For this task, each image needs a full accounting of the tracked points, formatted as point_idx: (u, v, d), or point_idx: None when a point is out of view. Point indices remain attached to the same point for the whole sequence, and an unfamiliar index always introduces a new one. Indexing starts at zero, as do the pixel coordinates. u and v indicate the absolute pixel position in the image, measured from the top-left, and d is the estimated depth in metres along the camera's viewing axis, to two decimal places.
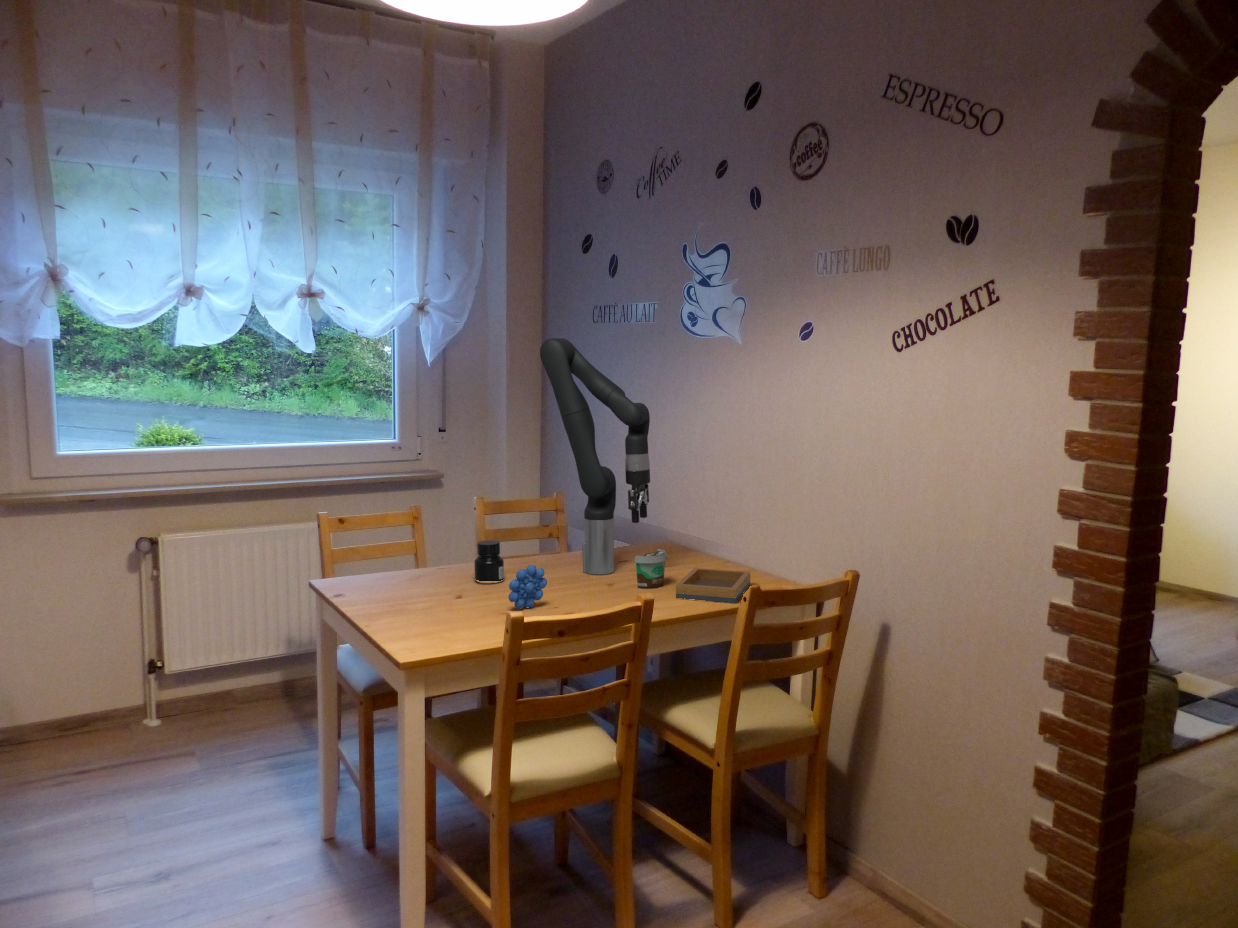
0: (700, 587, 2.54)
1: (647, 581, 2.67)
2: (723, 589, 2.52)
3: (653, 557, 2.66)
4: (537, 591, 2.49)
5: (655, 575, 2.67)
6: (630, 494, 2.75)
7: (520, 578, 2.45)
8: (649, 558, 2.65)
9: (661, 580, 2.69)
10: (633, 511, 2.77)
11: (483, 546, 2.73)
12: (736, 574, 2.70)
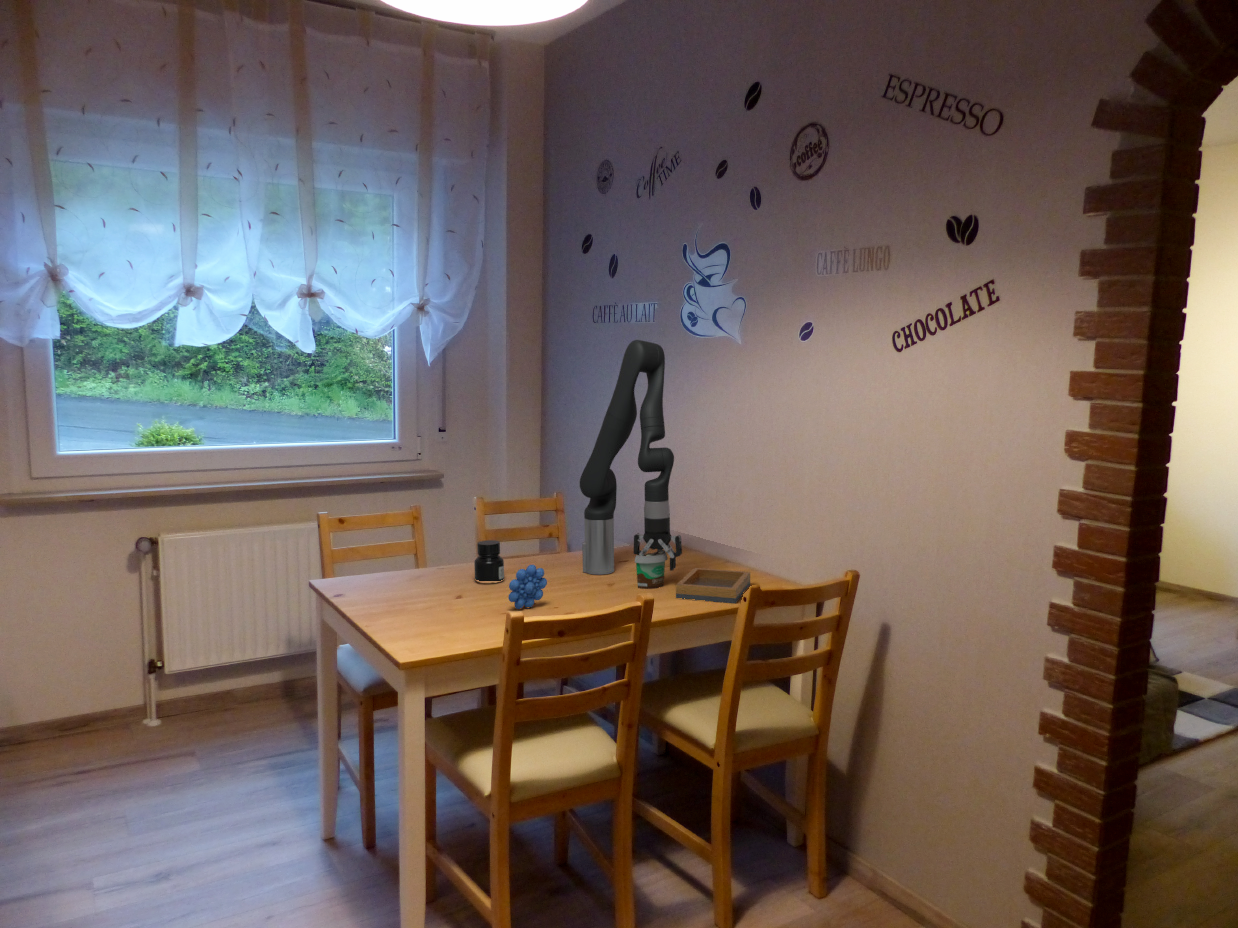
0: (700, 587, 2.54)
1: (647, 581, 2.67)
2: (723, 589, 2.52)
3: (653, 557, 2.66)
4: (537, 591, 2.49)
5: (655, 575, 2.67)
6: (679, 540, 2.67)
7: (520, 578, 2.45)
8: (649, 558, 2.65)
9: (661, 580, 2.69)
10: (675, 558, 2.68)
11: (483, 546, 2.73)
12: (736, 574, 2.70)
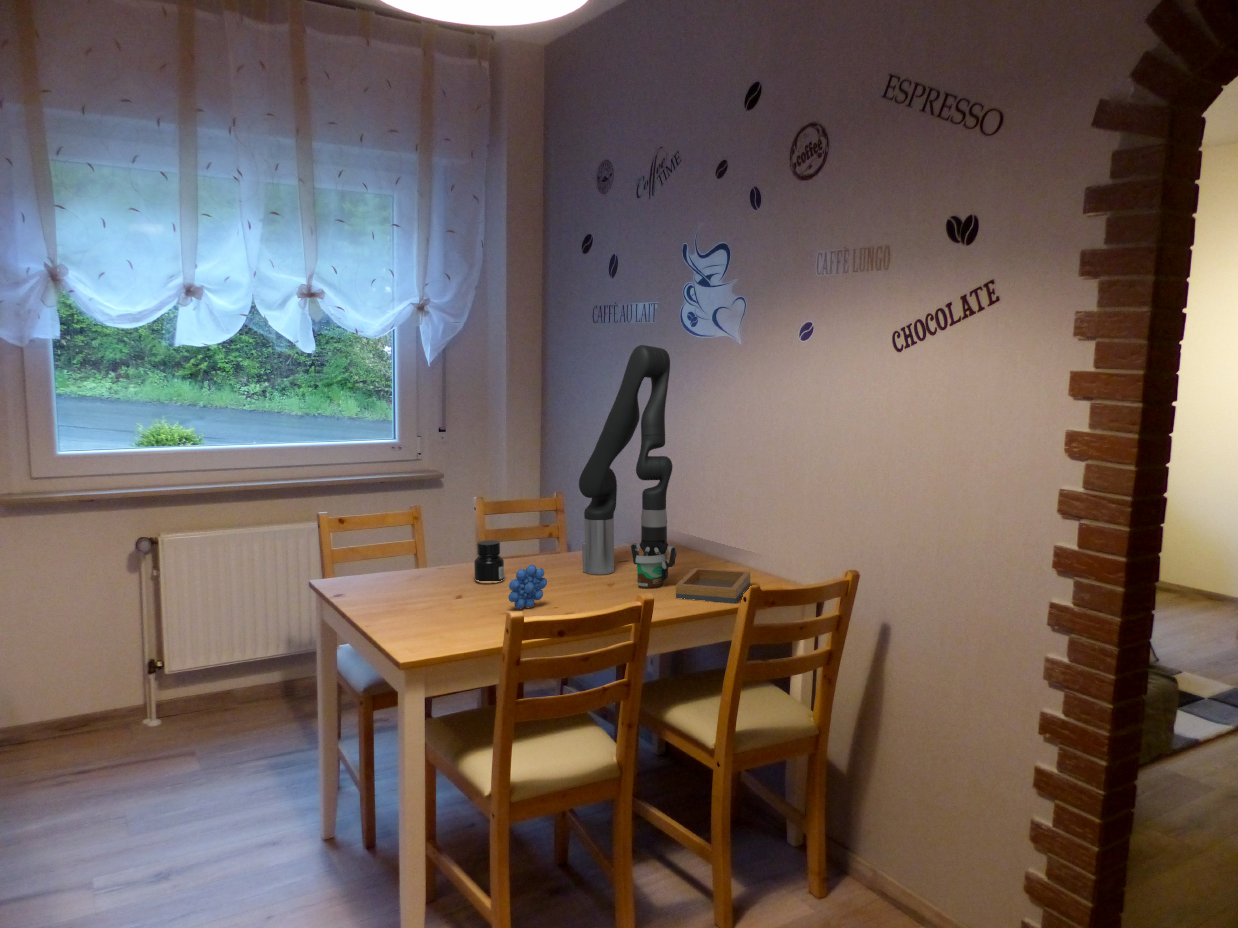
0: (700, 587, 2.54)
1: (648, 581, 2.67)
2: (723, 589, 2.52)
3: (654, 557, 2.65)
4: (537, 591, 2.49)
5: (656, 575, 2.67)
6: (675, 552, 2.67)
7: (520, 578, 2.45)
8: (650, 558, 2.65)
9: None
10: (666, 569, 2.68)
11: (483, 546, 2.73)
12: (736, 574, 2.70)
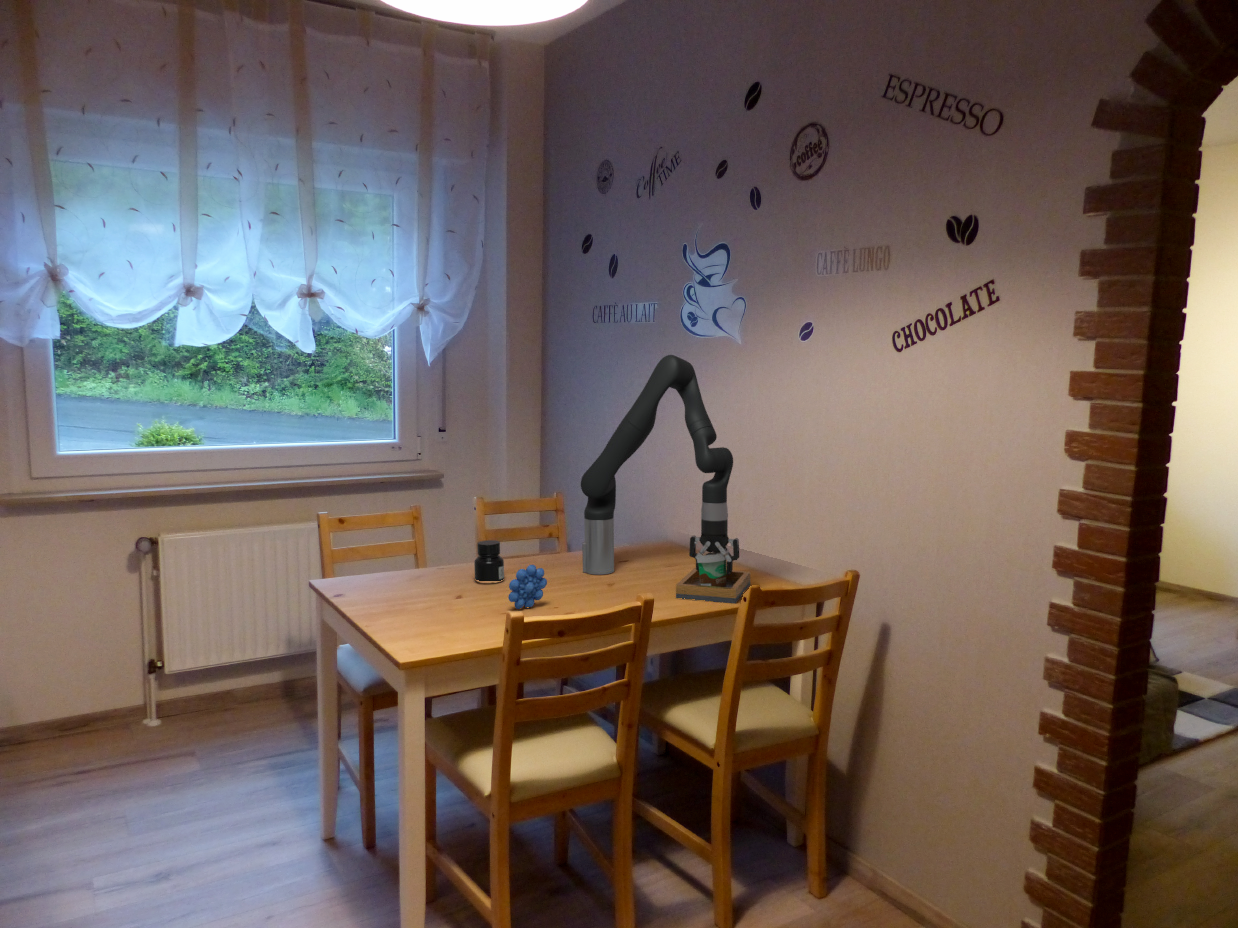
0: (700, 587, 2.54)
1: (711, 581, 2.59)
2: (723, 589, 2.52)
3: (716, 556, 2.58)
4: (537, 591, 2.49)
5: (719, 575, 2.60)
6: (737, 543, 2.59)
7: (520, 578, 2.45)
8: (712, 557, 2.58)
9: (724, 579, 2.62)
10: (732, 561, 2.60)
11: (483, 546, 2.73)
12: (736, 574, 2.70)
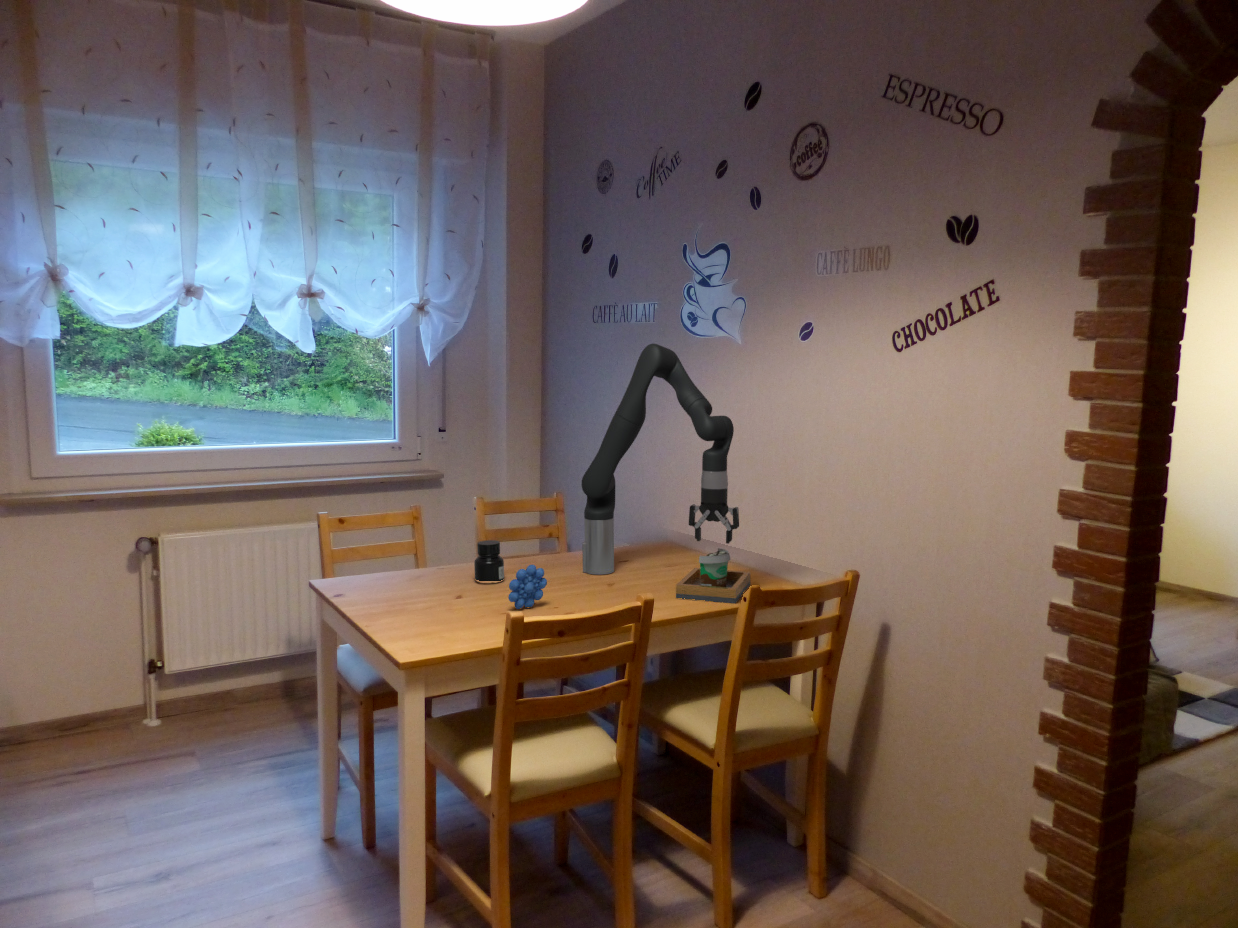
0: (700, 587, 2.54)
1: (712, 582, 2.59)
2: (723, 589, 2.52)
3: (718, 557, 2.58)
4: (537, 591, 2.49)
5: (720, 576, 2.60)
6: (737, 512, 2.58)
7: (520, 578, 2.45)
8: (714, 558, 2.58)
9: (725, 580, 2.62)
10: (731, 530, 2.59)
11: (483, 546, 2.73)
12: (736, 574, 2.70)
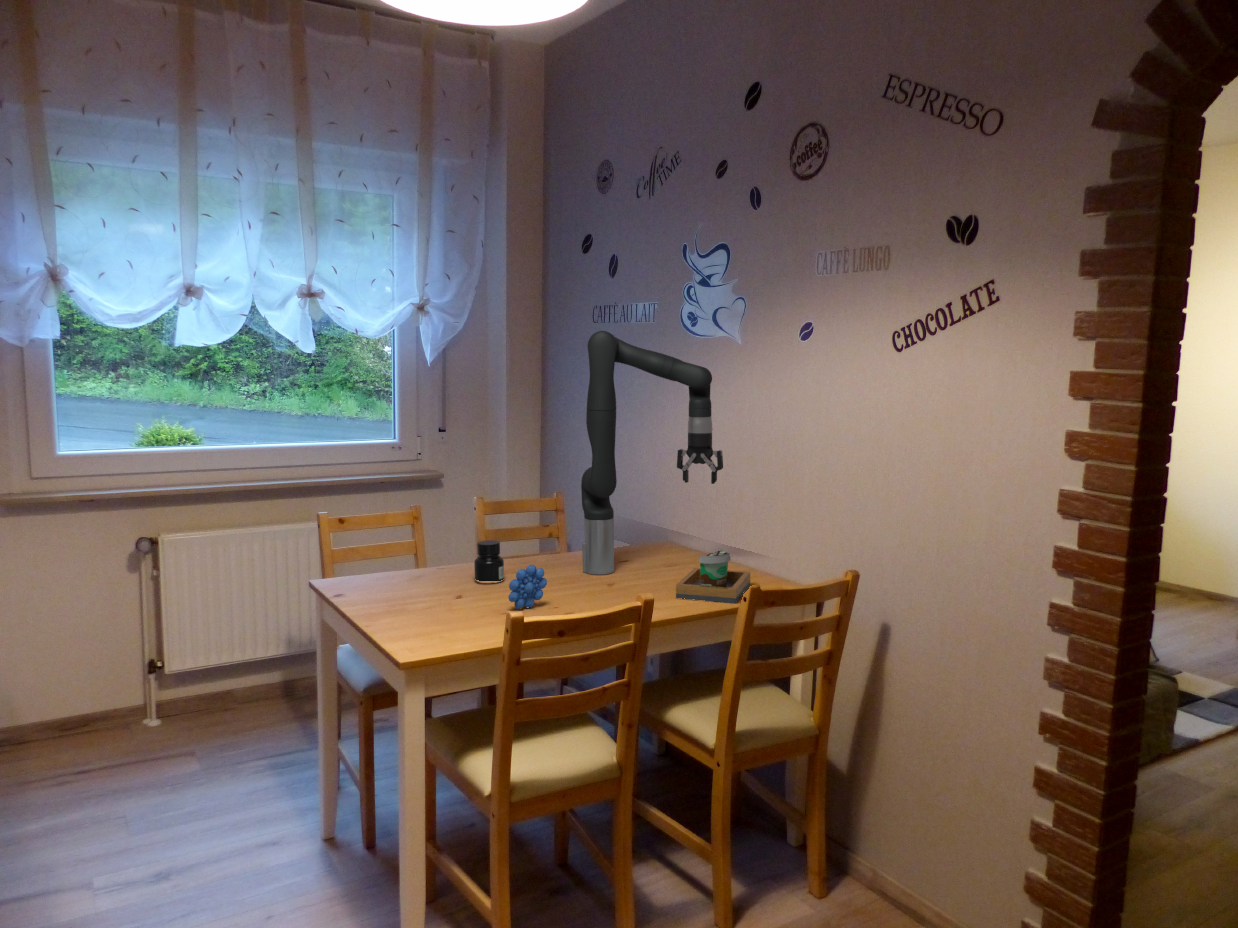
0: (700, 587, 2.54)
1: (712, 582, 2.59)
2: (723, 589, 2.52)
3: (718, 557, 2.58)
4: (537, 591, 2.49)
5: (720, 576, 2.60)
6: (721, 454, 2.81)
7: (520, 578, 2.45)
8: (714, 558, 2.58)
9: (725, 580, 2.62)
10: (716, 472, 2.82)
11: (483, 546, 2.73)
12: (736, 574, 2.70)
